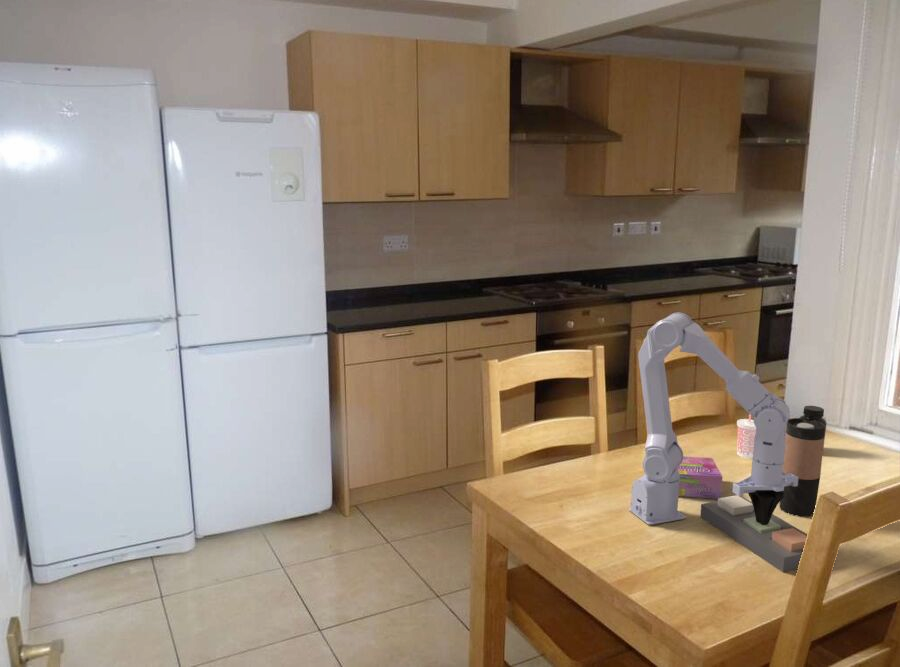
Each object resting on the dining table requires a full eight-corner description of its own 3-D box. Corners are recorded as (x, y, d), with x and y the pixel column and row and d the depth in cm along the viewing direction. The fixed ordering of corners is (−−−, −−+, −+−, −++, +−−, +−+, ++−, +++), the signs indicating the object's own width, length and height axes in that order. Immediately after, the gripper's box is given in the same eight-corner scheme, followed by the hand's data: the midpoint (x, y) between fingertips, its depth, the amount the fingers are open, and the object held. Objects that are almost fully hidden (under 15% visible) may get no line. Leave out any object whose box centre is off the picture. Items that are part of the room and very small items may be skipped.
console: (782, 572, 137) (784, 557, 136) (700, 516, 159) (701, 504, 158) (828, 562, 140) (830, 547, 140) (741, 509, 162) (743, 496, 162)
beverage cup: (730, 455, 194) (734, 404, 191) (740, 449, 198) (744, 399, 195) (752, 461, 190) (757, 409, 187) (762, 455, 194) (767, 404, 191)
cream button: (733, 517, 153) (733, 508, 153) (717, 507, 158) (717, 498, 157) (752, 513, 155) (753, 504, 154) (736, 503, 159) (737, 495, 159)
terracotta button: (790, 553, 138) (791, 543, 138) (771, 541, 143) (772, 531, 143) (811, 549, 140) (812, 539, 140) (791, 537, 145) (792, 527, 144)
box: (712, 456, 177) (722, 476, 166) (711, 478, 179) (720, 499, 167) (668, 454, 179) (675, 473, 168) (667, 476, 180) (673, 496, 169)
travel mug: (794, 519, 158) (803, 430, 153) (770, 504, 165) (778, 419, 161) (824, 514, 160) (834, 427, 155) (799, 500, 167) (807, 416, 163)
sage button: (760, 539, 146) (760, 529, 146) (742, 528, 151) (743, 519, 150) (780, 535, 148) (781, 526, 147) (762, 524, 152) (763, 515, 152)
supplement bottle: (797, 453, 195) (801, 410, 192) (793, 445, 201) (797, 403, 198) (825, 456, 193) (830, 413, 190) (820, 447, 199) (825, 405, 196)
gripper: (752, 471, 140) (746, 537, 143) (812, 462, 144) (805, 525, 147) (727, 458, 146) (722, 521, 149) (785, 449, 151) (779, 510, 154)
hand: (762, 522), depth 149 cm, fingers closed, pressing on sage button
